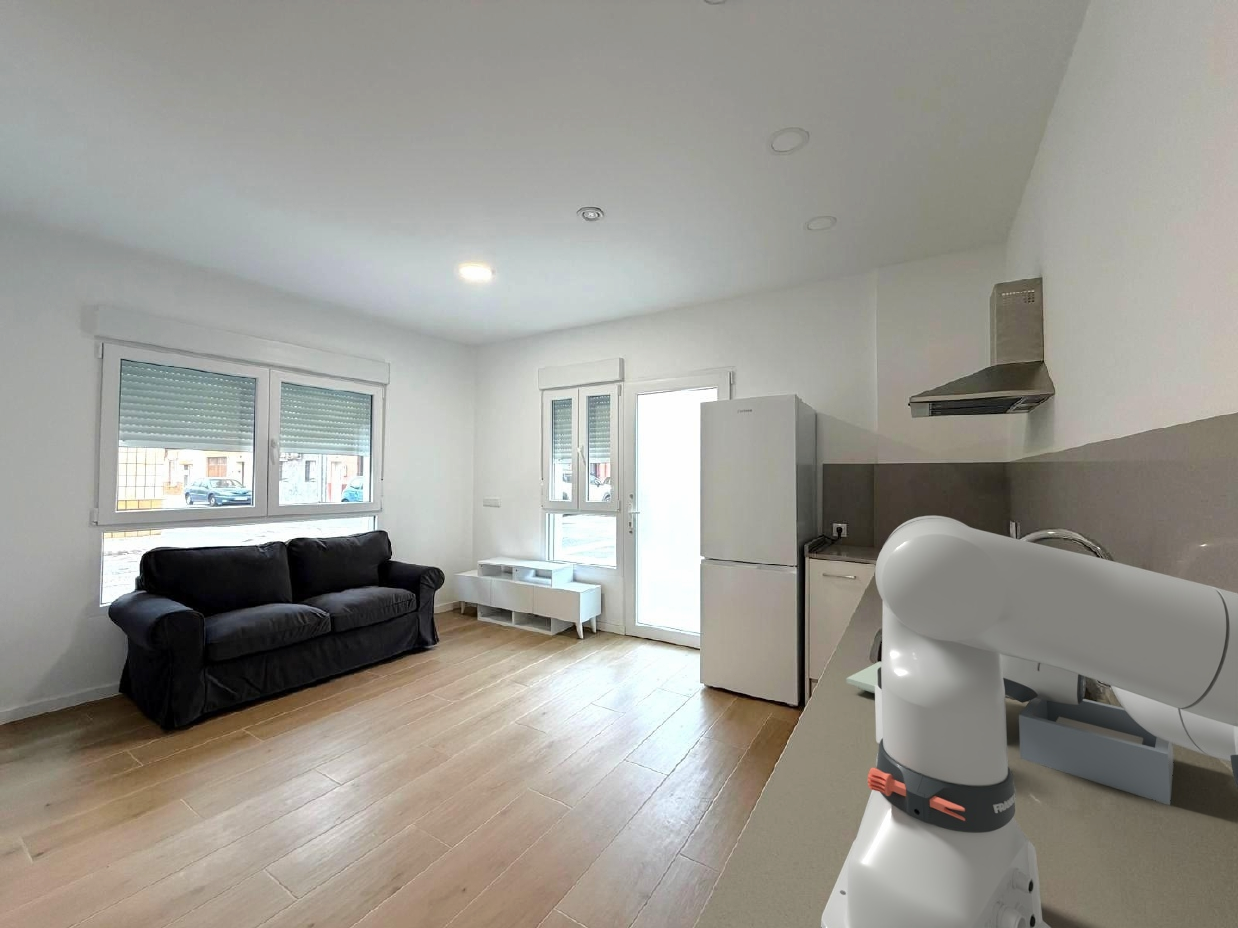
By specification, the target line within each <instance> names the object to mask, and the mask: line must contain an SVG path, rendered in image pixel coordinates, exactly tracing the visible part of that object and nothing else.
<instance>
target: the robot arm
mask: <svg viewBox="0 0 1238 928" xmlns="http://www.w3.org/2000/svg"><path fill="white" fill-rule="evenodd" d="M876 559H877V560H876V562H875V568H874V569H875V570H874V571H875V572H874V576H875V577H874V578H875V584H876V588H877V591H878V594H879V596H880V599H881V600H882V617H881V618H882V619H881V620H882V621H881V623H882V624H881V625H882V627H881V628H882V631H881V632H882V633H881V634H882V635H881V637H882V638H881V642H882V643H881V661H880V662H881V684H882V722H883V738H882V739H881V741H880V743H879V744H878V749H877V750H878V752H877V754H876V758H875V767H871V768H870V770H869V771H868V776H867V786H868V788H869V789H870V790H871V792H870V795H869V798H868V801H867V803H866V806H865V810H864V814H863V816H862V819H861V822H860V826H859V828H858V831H857V834H856V838H855V839H854V840H853V842H852V844H851V847H850V849H849V852H848V854H847V856H846V858H845V861H844V863H843V865H842V868H841V870H840V873H839V875H838V877H837V880H836V881H835V884H834V886H833V888H832V892H831V893H830V896H829V898H828V901H827V903H826V905H825V908H824V910H823V912H822V914H821V920H820V928H821V927H822V928H1052V927H1051V926H1050V925H1048V924H1047V922H1045V921H1044V920H1043V912H1042V902H1041V891H1040V890H1041V888H1040V878H1039V870H1038V869H1039V868H1038V859H1037V857H1038V856H1037V850H1036V846H1035V845H1034V844H1033V843H1032V841H1031V840H1030V839H1029V838H1028V837H1027V836H1026V833H1024V832H1023V829H1021V828H1020V826H1019V824H1018V822H1017V821H1016V819H1015V814H1016V800H1017V799H1016V798H1017V795H1016V794H1017V792H1016V791H1017V789H1016V785H1015V783H1014V775H1013V771H1012V769H1010V767H1009V764H1008V763H1009V762H1008V739H1007V735H1008V734H1007V733H1008V732H1007V709H1006V698H1010V699H1013V700H1016V702H1020V703H1022V704H1024V703H1026V702H1029V701H1030V700H1032V699H1034V698H1038V699H1042V700H1047V701H1052V702H1058V703H1064V704H1071V705H1079V704H1080V703H1081V702H1082V701H1083V699H1085V696H1086V695H1085V694H1086V691H1087V690H1086V689H1087V678H1089V679H1091V680H1095V681H1096V682H1100V683H1103V684H1106V685H1108V686H1110V687H1111V689H1112V692H1113V694H1114V695H1115V697H1116V700H1118V703H1119V704H1120V706H1121V707H1122V708H1124V709H1125V711H1126V712H1127V713H1128V714H1129V715H1130V716H1131V717H1132V718H1133V719H1134V720H1135V721H1136V722H1137V723H1138V724H1139V725H1140V726H1141V727H1143V728H1144V729H1145V730H1146V731H1148V732H1149V733H1151V734H1152V735H1154V736H1156V737H1158V738H1161V739H1163V740H1165V741H1168V742H1170V743H1173V745H1176V746H1178V747H1181V748H1182V749H1183V748H1184V749H1187V750H1189V751H1193V752H1195V753H1198V754H1202V755H1205V756H1207V757H1208V756H1209V757H1212V758H1216V759H1219V760H1222V761H1227V762H1229V763H1231V764H1230V765H1231V769H1232V775H1233V778H1234V783H1235V785H1236V788H1237V789H1238V593H1237V592H1234V591H1230V590H1227V589H1226V590H1225V589H1223V588H1218V587H1215V586H1212V585H1208V584H1204V583H1200V582H1196V581H1193V580H1187V579H1183V578H1180V577H1177V576H1172V575H1169V574H1164V573H1160V572H1156V571H1152V570H1148V569H1144V568H1141V567H1137V566H1134V565H1133V566H1132V565H1128V564H1125V563H1121V562H1117V561H1112V560H1109V559H1104V558H1102V557H1098V556H1097V557H1096V556H1093V555H1089V554H1084V553H1079V552H1074V551H1070V550H1067V549H1062V548H1061V549H1060V548H1058V547H1053V546H1048V545H1043V544H1041V543H1039V544H1038V543H1034V542H1032V541H1027V540H1022V539H1017V538H1014V537H1009V536H1006V535H1001V534H998V533H993V532H990V531H985V530H981V529H977V528H973V527H970V526H968V525H967V524H965V523H963V522H962V521H960V520H958V519H955V518H953V517H952V518H951V517H947V516H943V515H924V516H918V517H914V518H912V519H908V520H907V521H904V522H903V523H902V524H900V525H899V526H898V527H896V528H895V529H893V531H892V532H891V534H890V535H889V536H888V538H886V541H885V543H883V545H882V549H880V552H879V553H878V557H877V558H876Z"/></svg>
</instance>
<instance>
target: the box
mask: <svg viewBox="0 0 1238 928" xmlns="http://www.w3.org/2000/svg"><path fill="white" fill-rule="evenodd" d="M1018 727H1019V729H1018V730H1019V732H1018V733H1019V753H1020V754H1019V756H1020V759H1021V760H1025V761H1027V762H1031V763H1034V764H1037V765H1041V766H1044V767H1047V768H1050V769H1053V770H1056V771H1060V772H1063V773H1066V774H1069V775H1072V776H1076V777H1078V778H1081V779H1086V780H1088V781H1090V782H1094V783H1098V784H1101V785H1104V786H1107V787H1110V788H1114V789H1118V790H1120V791H1124V792H1127V793H1130V794H1133V795H1136V796H1139V797H1143V798H1146V799H1148V800H1151V799H1153V800H1152V801H1155V800H1156V801H1155V802H1158V803H1162V804H1164V805H1167V804H1168V806H1171V801H1170V800H1171V798H1172V787H1173V776H1172V775H1173V773H1174V763H1173V762H1174V747H1173V745H1174V744H1173V743H1170V742H1168V741H1165V740H1163V739H1161V738H1158V737H1156V736H1154V735H1152V734H1151V733H1149V732H1148V731H1146V730H1145V729H1144V728H1143V727H1141V726H1140V725H1139V724H1138V723H1137V722H1136V721H1135V720H1134V719H1133V718H1132V717H1131V716H1130V715H1129V714H1128V713H1127V712H1126V711H1125V709H1124V708H1123V707H1122V706H1116V705H1113V704H1108V703H1105V702H1099V701H1095V700H1090V699H1086V698H1084V699H1083V701H1082V702H1081V703H1080V704H1079V705H1071V704H1064V703H1058V702H1052V701H1047V700H1042V699H1038V698H1034V699H1032V700H1029V701H1028V703H1027V704H1026V705H1025V706H1024V708H1023V709H1022V710H1021V712H1020V713H1019V714H1018Z"/></svg>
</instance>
